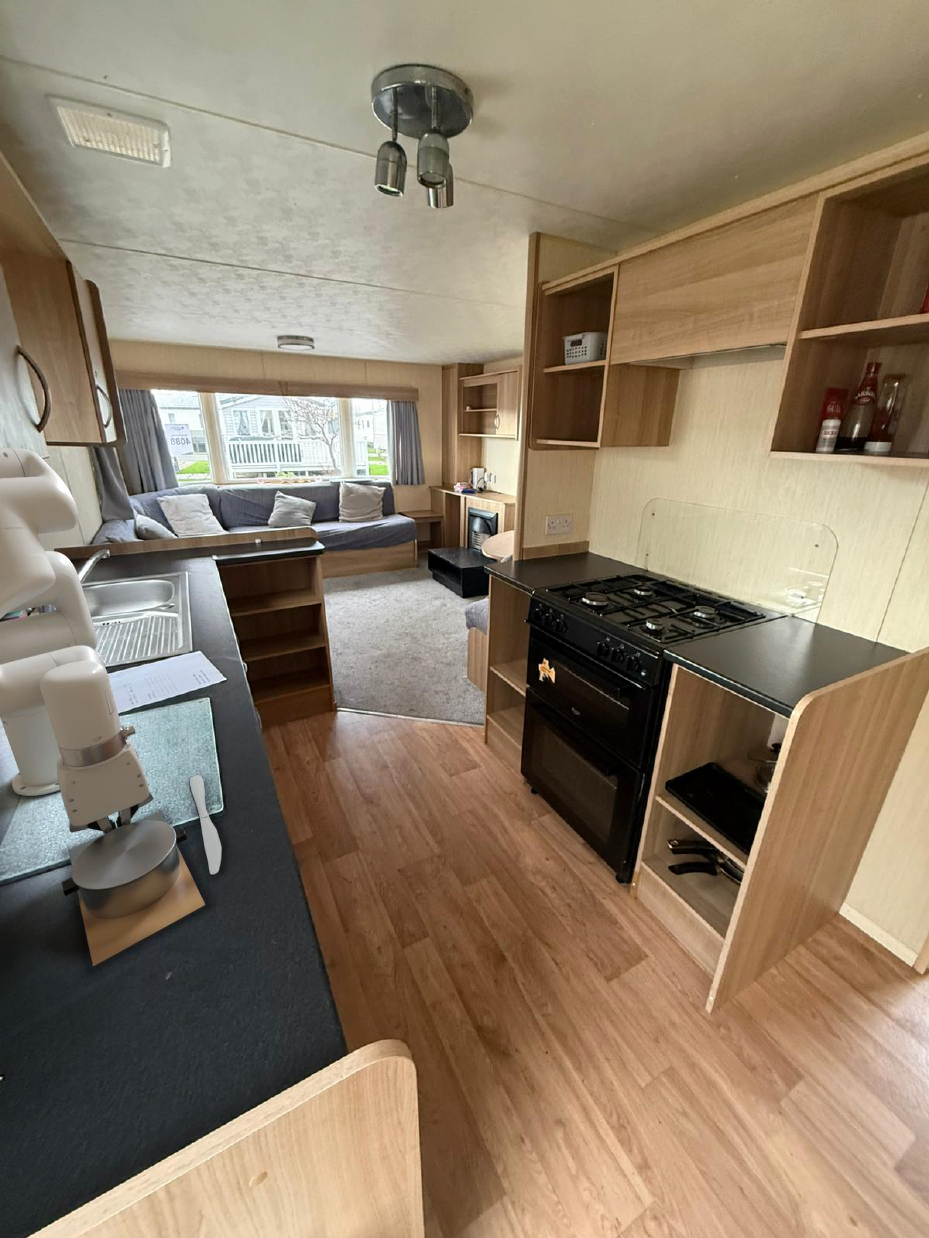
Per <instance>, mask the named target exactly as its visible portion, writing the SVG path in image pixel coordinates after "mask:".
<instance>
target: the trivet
mask: <svg viewBox="0 0 929 1238" xmlns="http://www.w3.org/2000/svg"><path fill="white" fill-rule="evenodd" d="M178 855H179V859H180V865H181V868H180V873H179V876H178V878H177V880H176V881H175V883H174V884H173V886H172V887H171V888H170V889H169V890H168V891H167V892H166V893H165V894H164V895H163V896H162V897H161V898H160V899H158V900H157V901H156V902H154V903H153V904H151V905H149V906H148V907H146V908H144V909H142V910H140V911H138V912H135V913H133V914H130V915H127V916H123V917H119V918H110V919H105V918H98V917H95V916H93V915H91V914H90V913H89V912H88V911H87V910H86V908H85V905H84V902H83V899H82V900H80V901H79V900H78V902H79V906H80V912H81V916H82V920H83V925H84V930H85V935H86V940H87V944H88V948H89V953H90V958H91V963H92V967H95V966H97V965H99V964H101V963H102V962H105V961H106V960H109V959H110V958H111V957H114V956H115V955H118V954H119V953H121V952H123V951H125V950H126V949H128V948H130V947H132V946H134V945H135V944H138V943H139V942H141V941H142V940H144V939H146V938H148V937H150V936H151V935H154V934H155V933H157V932H159V931H161V930H163V929H164V928H166V927H168V926H171V924H173V923H175V922H177V921H179V920H181V919H183V918H185V917H187V916H188V915H190V914H192V913H193V912H195V911H197V910H199V909H201V908H203V907H204V906H206V903H205V901H204V899H203V897H202V895H201V893H200V891H199V889H198V887H197V884H196V882H195V880H194V878H193V876H192V874H191V872H190V870H189V868H188V866H187V864H186V861H185V859H184V858H183V855H182V853H181V852H180V853H179V854H178Z"/></svg>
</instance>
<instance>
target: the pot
mask: <svg viewBox="0 0 929 1238" xmlns="http://www.w3.org/2000/svg"><path fill="white" fill-rule="evenodd" d="M138 821H139V820H138ZM165 822H166V821H165ZM165 822H162V821H155V820H147V821H139V822H136V821H134V822H131V823H130V824H127V825H124V826H121V827H118V828H116V829H114V830H112V831H110V832H108V833H106V834H104V833H103V834H102V835H100V836H101V837H100V836H98V837H99V838H98V837H97V838H98V839H96V838H95V839H96V840H95V841H93V842H92V843H91V844H90V845H88V846H87V847H86V848H85V849H84V850H83V851H82V852H81V853H80V854H79V856H78V857H77V859H76V860H75V862H74V864H73V867H72V866H71V872H70V875H71V877H70V878H67V879H65V880H63V881H61V887H62V890H63V895H64V896H65V897H67V896H69V895H71V894H73V893H76V892H77V891H78V890H79V891H80V894H81V896H82V899H83V902H84V905H85V908H86V910H87V911H88V912H89V913H90V914H91V915H93V916H95V917H98V918H105V919H110V918H119V917H123V916H127V915H130V914H133V913H135V912H138V911H140V910H142V909H144V908H146V907H148V906H149V905H151V904H153V903H154V902H156V901H157V900H158V899H160V898H161V897H162V896H163V895H164V894H165V893H166V892H167V891H168V890H169V889H170V888H171V887H172V886H173V884H174V883H175V881H176V880H177V878H178V876H179V873H180V868H181V865H180V859H179V855H178V851H177V847H178V846H177V847H176V845H178V844H180V843H183V842H184V841H186V840H188V837H187V836H188V835H187V833H186V832H185V829H184V828H183V827H180V828H177V829H174V827H173V826H172V825H170V824H169V823H168V822H166V823H165Z"/></svg>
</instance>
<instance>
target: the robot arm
mask: <svg viewBox="0 0 929 1238" xmlns="http://www.w3.org/2000/svg"><path fill="white" fill-rule="evenodd" d="M78 520H79V511H78V507H77V504H76V501H75V498H74V497H73V494H72V493H71V491H70V488H68V486H67V484H66V483H65V482H64V481H63V479H62V478H61V476H60V475H58V473H57V472H56V471H55V470H54V469H53V468H52V467H51V466H50V465H49V464H48V463H47V462H46V461H45V460H44V459H43V457H41V456H40V455H39V454H38V453H37V452H35V451H33V450H31V449H28V448H21V447H0V620H1V619H2V618H3V617H4V616H5V615H7V614H9V613H16V612H19V611H24V610H29V609H34V608H40V607H44V606H52V607H54V609H55V610H53V611H47V612H43V613H39V614H34V615H28V616H23V617H18V618H13V619H9V620H8V619H7V620H4V621H0V721H1V725H2V727H3V730H4V733H5V736H6V738H7V741H8V745H9V746H10V750H11V752H12V755H13V758H14V761H15V764H16V766H17V769H18V773H17V774H16V775H15V776H14V777H13V779H12V781H11V787H12V789H13V791H14V793H16V794H18V795H21V796H25V797H26V796H27V797H33V796H35V797H36V796H42V795H48V794H52V793H54V792H59V791H60V795H61V799H62V803H63V806H64V807H63V808H64V809H65V813H66V817H67V819H68V829H69V832H70V833H76V832H82V831H87V829H89V830H92V831H93V830H94V831H99V832H102V833H103V835H104V834H106V833H108V832H110V831H112V830H114V829H116V828H118V827H121V826H124V825H127V824H130V823H132V819H133V818H134V816H135V815H136V814H137V812H138V811H139V809H141V808H143V807H144V806H146V805H147V804H149V803H150V802H152V801H153V800H154V797H153V794H152V792H151V791H150V788H149V784H148V779H147V777H146V773H145V771H144V768H143V765H142V762H141V759H140V756H139V754H138V752H137V749H136V747H135V745H134V744H133V741H132V740H131V739H130V737H131V736H134V735H136V734H137V733H136V730H135V726H134V725H129V726H124V725H122V723H121V719H120V716H119V715H120V714H119V712H118V707H117V704H116V700H115V697H114V691H113V689H112V685H111V681H110V677H109V674H108V671H107V669H106V665H105V662H104V659H103V656H102V654H100V653H99V652H98V651H96V648H97V647H98V636H97V632H96V628H95V625H94V621H93V618H92V615H91V612H90V608H89V605H88V602H87V597H86V596H85V593H84V589H83V585H82V583H81V580H80V576H79V574H78V572H77V569H76V567H75V566H74V564H73V563H72V562H71V560H70V558H68V557H67V556H66V555H65V554H64V553H61V552H58V551H55V550H45V548H44V546H43V543H42V541H41V538H40V537H39V535H41V534H49V533H59V532H67V531H70V530H73V529H74V528H75V527H76V526H77V524H78ZM116 813H117V817H116V820H115V821H114V820H113V819H110V817H109V816H111V815H113V814H116Z"/></svg>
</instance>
